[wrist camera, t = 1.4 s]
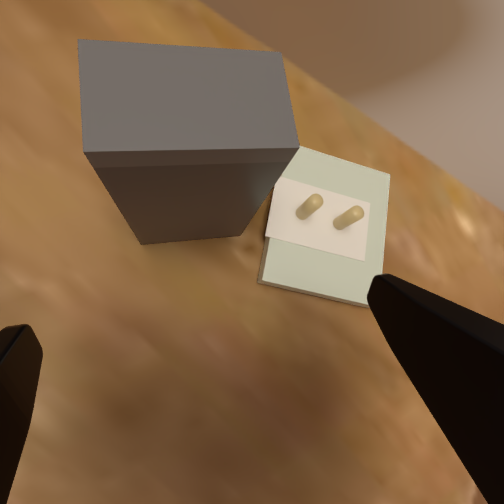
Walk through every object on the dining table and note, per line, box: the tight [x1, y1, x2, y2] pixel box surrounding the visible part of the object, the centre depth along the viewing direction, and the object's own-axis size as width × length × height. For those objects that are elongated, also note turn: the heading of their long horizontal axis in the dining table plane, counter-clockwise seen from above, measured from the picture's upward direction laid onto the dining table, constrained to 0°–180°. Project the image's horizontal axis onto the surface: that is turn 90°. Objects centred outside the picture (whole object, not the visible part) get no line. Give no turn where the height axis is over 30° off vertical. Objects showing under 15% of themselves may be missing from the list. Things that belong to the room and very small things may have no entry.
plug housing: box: [78, 39, 300, 245], centre depth 16 cm, size 4×7×12 cm, turn 99°
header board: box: [257, 146, 390, 308], centre depth 22 cm, size 11×9×4 cm
